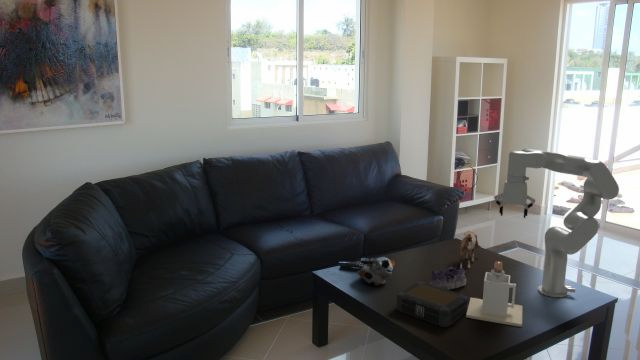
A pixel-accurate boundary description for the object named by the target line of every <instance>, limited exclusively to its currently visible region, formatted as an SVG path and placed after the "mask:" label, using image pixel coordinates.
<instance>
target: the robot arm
mask: <svg viewBox="0 0 640 360" xmlns="http://www.w3.org/2000/svg"><path fill="white" fill-rule="evenodd" d="M507 163H508V164H507V175H506V180H504V183H503V190H502V193H499V194H496V195H493V198H494V201H495V203H496V204H497V206H498V207H499V211H498V212H499V214H500V216H501V217H502V216H503V215H504V205H505V204H506V205H518V206H523V207H524V209H523V219H526V217H527V216H528V211H529V209H530V208H532V207H533V205H534V204H535V203H536V199H535V198H533V197H531V196H530V195H528V183H527V181H529V180H530V177H529V176H526V175H527V173H526V172H527V168H528V169H529V168H530V169H541V168H542V169H546V170H549V171H551V172H555V173H558V174H559V173H560V174H566V175H572V176H577V177H583V178H585V180H584V182H583V197H582V199H581V201H580V202H579V203H578V204H577V205H576V206H575V207H574V208H573V209H572V210H571V211H570V212H569V213H568V214H567V215H566V216H565V217H564V219H563V226H564V227H565V228H563V227H560V226H552V227H549V228H548V229H547V230H546V231H545V234H544V250H545V251H544V262H543V271H542V272H543V273H542V283H541V285H539V286H538V287H537V291H538V292H539V293H540V294H542V295H544V296H546V297H550V298H557V297H558V298H559V297H560V298H564V297H567V296H568V292H569V293H576V288H573V286H569V285H566V274H567V273H566V272H567V265H568V264H567V263H568V255H570V256H571V255H574V254H576V253H578V252H579V251H580V250H582V249H583V248H584V247H585V246H586V245H588V243H590V241H591V240H592V239H593V238H594V237H595V236H596V235H597V233H598V231H599V229H600V228H599V227H600V226H599V222H598V220H597V219H596V218H595V216H596V215H598V213H599V212H600V210H601V207H602V199H603V200H609V201H610V200H614V199H615V198H617V196H618V194H619V193H620V186H619V184H618V182H617V181H616V179H615V177H614V176H613V174H612V172H611V171H610V169H609V168H608V166H607V165H606V164H605V163H604V162H602V161H601V160H598V159H597V160H596V159H592V158H588V157H583V156H578V155H571V154H566V153H561V152H560V153H559V152H550V151H545V150H539V149H534V148H533V149H532V148H523V149H521V150H512V151H510V152H509V153H508V162H507ZM500 198H501V201H500V200H499V199H500ZM527 200H529V201H530V203H529V204H527ZM568 230H569V231H568Z"/></svg>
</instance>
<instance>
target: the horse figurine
mask: <svg viewBox="0 0 640 360" xmlns="http://www.w3.org/2000/svg"><path fill="white" fill-rule="evenodd" d="M474 248H476V249H477V250H478V251H480V250H481V249H482V246H481V245H479V242H478V234H477V233H476V232H474V231H470V230H468V231H465V232H464V233H463V237H462V239H461V244H460V249H459V250H460V256H459V257H460V258H459V260H460V265H459V269H460V268H462V269H463V259H464V255H465V253H466V257H465V259H467V269H471V264H470V263H471V262H472V263H474V262H475V253H474V252H475V249H474Z"/></svg>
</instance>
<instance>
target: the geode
mask: <svg viewBox="0 0 640 360" xmlns="http://www.w3.org/2000/svg"><path fill="white" fill-rule="evenodd" d="M465 273H466V270H465V269H464V268H463V267H462V268H460V267H453V266H451V267H448V268H446V269H442V270H440V271H435V270H433V271H432V273H431V277H430V278H429V284H430V285H433V286H437V287H440V288H443V289H446V290H449V291H452V290H455V289H458V288H461V287H463V286H467V277H466V275H465Z"/></svg>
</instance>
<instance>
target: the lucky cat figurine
mask: <svg viewBox="0 0 640 360" xmlns="http://www.w3.org/2000/svg"><path fill="white" fill-rule="evenodd" d="M394 267H395V259H392V260H391V259H389V258H388V257H386V256H381V257H377V258H375V259H374V260H373V259H369V261H368V263H366V264H364V265H362V267H361V268H360V270H357V272H356V273H357V275H358V276H359V277H361V278H362V279H363V280H364V281H365V282H366V283H368V284H369V285H373V286H374V287H379V286H381V284H382V285H384V284H385V283H386V279H387V278H388V277H390V275H391V274H393V273H392V271H393V269H394Z"/></svg>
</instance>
